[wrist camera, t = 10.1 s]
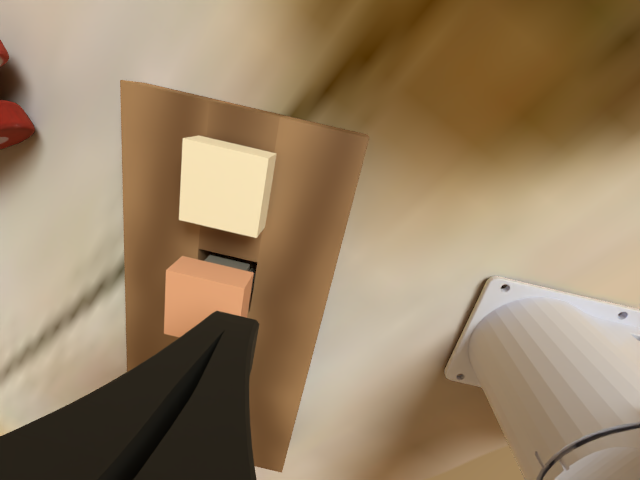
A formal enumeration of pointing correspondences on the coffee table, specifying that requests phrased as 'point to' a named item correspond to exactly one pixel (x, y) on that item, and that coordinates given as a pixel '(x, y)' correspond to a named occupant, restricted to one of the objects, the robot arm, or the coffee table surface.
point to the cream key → (225, 185)
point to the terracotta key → (204, 291)
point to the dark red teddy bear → (12, 116)
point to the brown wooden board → (239, 237)
